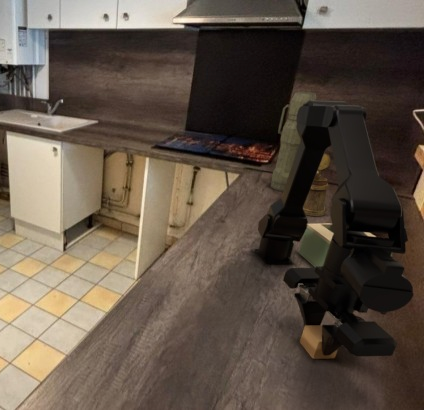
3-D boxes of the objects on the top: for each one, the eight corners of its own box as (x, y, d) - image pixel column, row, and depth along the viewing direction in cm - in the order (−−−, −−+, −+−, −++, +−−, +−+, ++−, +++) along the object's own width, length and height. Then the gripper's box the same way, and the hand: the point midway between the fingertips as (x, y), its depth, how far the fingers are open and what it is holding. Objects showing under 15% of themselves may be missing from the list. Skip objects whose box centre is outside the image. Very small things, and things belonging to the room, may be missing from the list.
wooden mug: (323, 204, 122) (339, 152, 114) (324, 218, 111) (341, 162, 104) (294, 198, 126) (307, 148, 119) (292, 212, 115) (306, 158, 108)
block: (312, 358, 60) (318, 341, 59) (299, 342, 64) (304, 325, 62) (334, 358, 60) (341, 341, 59) (320, 341, 64) (326, 324, 62)
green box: (329, 280, 81) (339, 251, 78) (298, 252, 92) (305, 226, 89) (382, 279, 81) (393, 251, 78) (344, 252, 92) (353, 225, 89)
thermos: (299, 194, 129) (326, 94, 116) (264, 188, 135) (285, 91, 121) (301, 187, 136) (326, 91, 122) (267, 181, 142) (288, 89, 128)
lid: (339, 251, 78) (340, 248, 78) (305, 226, 89) (306, 223, 89) (393, 251, 78) (395, 247, 78) (353, 225, 89) (354, 223, 89)
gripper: (454, 308, 47) (410, 391, 53) (352, 239, 64) (328, 308, 71) (372, 309, 47) (338, 393, 53) (291, 240, 64) (272, 309, 70)
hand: (318, 345), depth 62 cm, fingers closed on block, 4 cm apart
